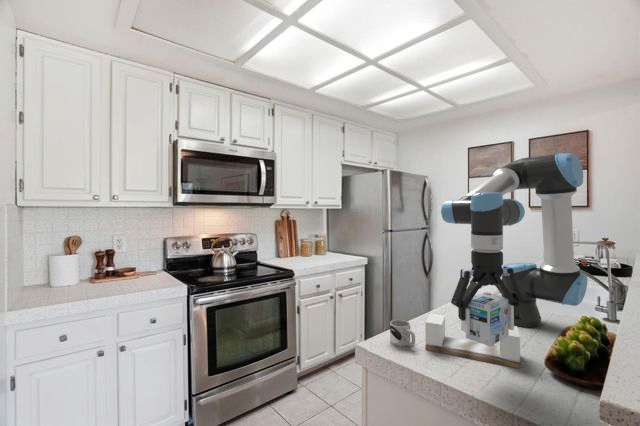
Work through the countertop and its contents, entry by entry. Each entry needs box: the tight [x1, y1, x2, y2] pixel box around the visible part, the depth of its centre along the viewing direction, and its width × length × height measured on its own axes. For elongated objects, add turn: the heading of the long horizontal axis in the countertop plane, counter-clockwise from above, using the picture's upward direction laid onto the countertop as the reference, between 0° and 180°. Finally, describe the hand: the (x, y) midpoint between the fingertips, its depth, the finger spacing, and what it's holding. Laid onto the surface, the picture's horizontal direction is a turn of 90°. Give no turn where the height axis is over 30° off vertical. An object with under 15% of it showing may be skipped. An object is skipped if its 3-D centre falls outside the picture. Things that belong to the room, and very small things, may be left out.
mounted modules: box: [425, 313, 521, 362], centre depth 99 cm, size 26×9×7 cm, turn 62°
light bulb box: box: [465, 291, 509, 347], centre depth 83 cm, size 11×7×11 cm, turn 126°
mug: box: [389, 319, 416, 348], centre depth 105 cm, size 10×7×7 cm
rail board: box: [425, 336, 521, 369], centre depth 99 cm, size 26×10×2 cm, turn 62°
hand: (487, 330), depth 84 cm, fingers closed on light bulb box, 12 cm apart
